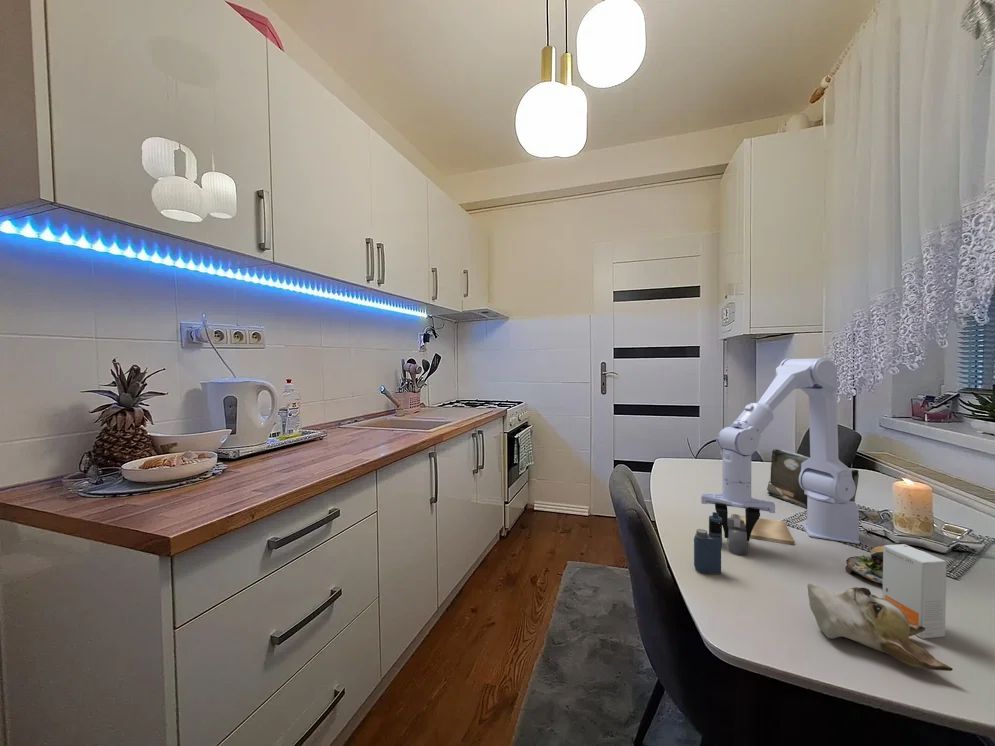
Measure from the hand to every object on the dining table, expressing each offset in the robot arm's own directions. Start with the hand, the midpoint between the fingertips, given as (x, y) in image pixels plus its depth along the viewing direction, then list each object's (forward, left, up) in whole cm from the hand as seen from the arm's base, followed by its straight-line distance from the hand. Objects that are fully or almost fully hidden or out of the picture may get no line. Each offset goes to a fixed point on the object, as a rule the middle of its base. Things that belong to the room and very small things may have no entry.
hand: (736, 538), depth 93 cm
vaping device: (+6, +15, -2) cm, 16 cm away
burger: (-25, +3, -2) cm, 25 cm away
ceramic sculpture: (-15, +28, -2) cm, 32 cm away
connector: (0, 0, -2) cm, 2 cm away
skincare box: (-23, +20, -2) cm, 31 cm away
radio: (-22, -40, -2) cm, 46 cm away
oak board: (-6, -13, -2) cm, 14 cm away
